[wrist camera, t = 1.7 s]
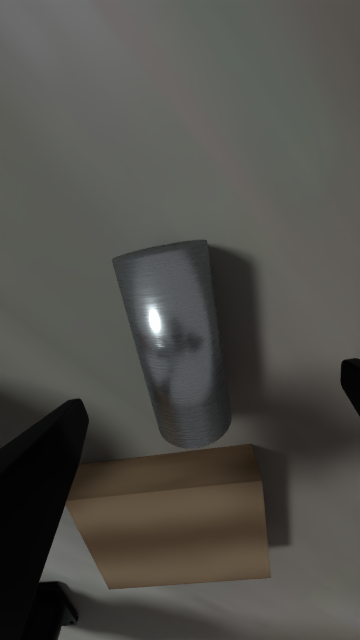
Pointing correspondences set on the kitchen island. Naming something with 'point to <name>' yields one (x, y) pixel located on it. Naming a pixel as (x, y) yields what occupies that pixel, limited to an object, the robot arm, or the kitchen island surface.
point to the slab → (173, 517)
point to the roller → (177, 339)
